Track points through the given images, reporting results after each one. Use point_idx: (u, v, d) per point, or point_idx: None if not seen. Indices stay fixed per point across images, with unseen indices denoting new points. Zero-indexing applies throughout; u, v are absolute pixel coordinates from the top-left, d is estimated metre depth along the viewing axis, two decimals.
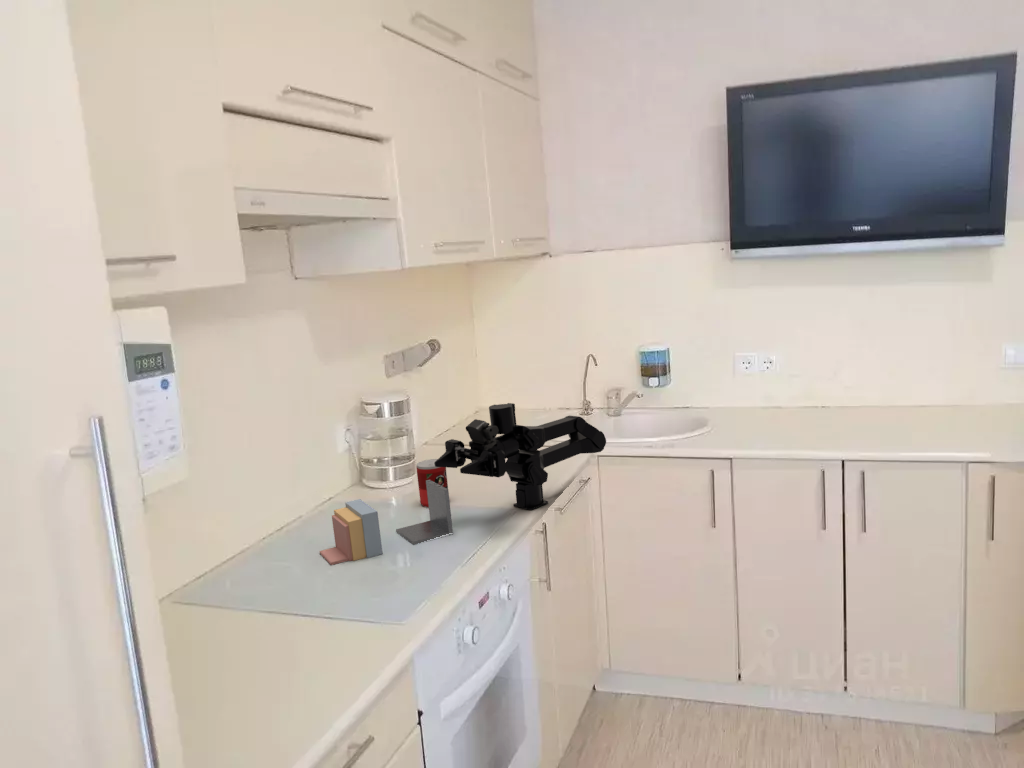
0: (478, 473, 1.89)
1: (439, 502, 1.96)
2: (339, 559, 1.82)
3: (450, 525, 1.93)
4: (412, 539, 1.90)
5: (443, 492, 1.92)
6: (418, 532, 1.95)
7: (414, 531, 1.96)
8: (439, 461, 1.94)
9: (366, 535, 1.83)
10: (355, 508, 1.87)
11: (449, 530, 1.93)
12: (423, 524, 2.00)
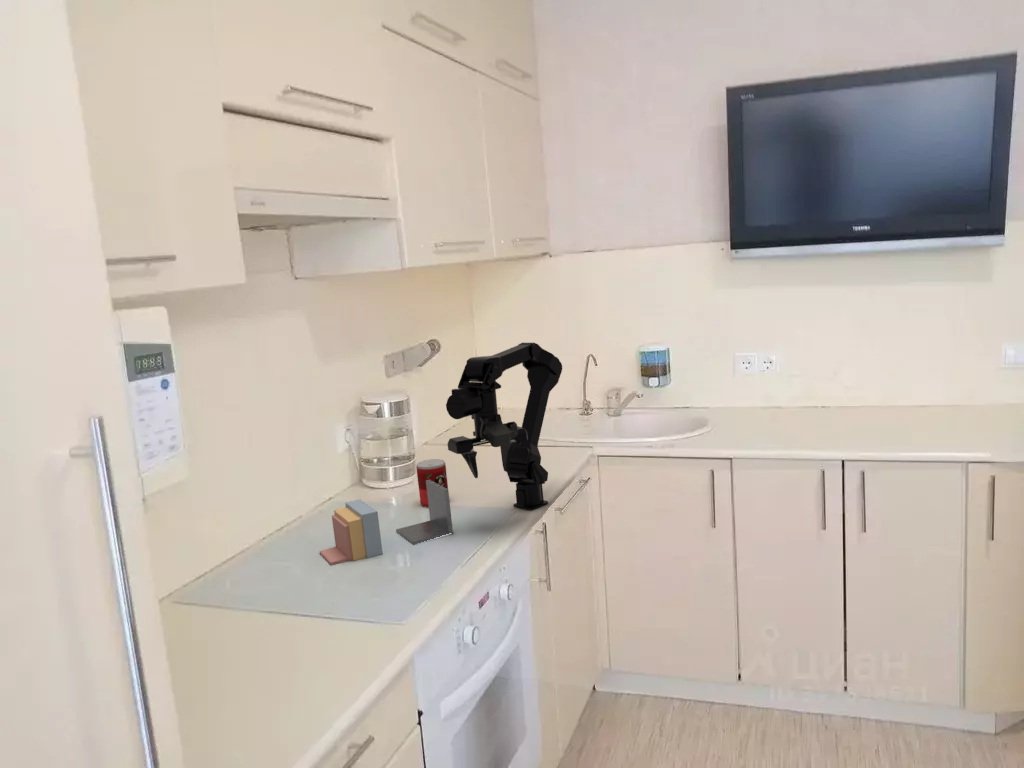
0: None
1: (439, 502, 1.96)
2: (339, 559, 1.82)
3: (450, 525, 1.93)
4: (412, 539, 1.90)
5: (443, 492, 1.92)
6: (418, 532, 1.95)
7: (414, 531, 1.96)
8: None
9: (366, 535, 1.83)
10: (355, 508, 1.87)
11: (449, 530, 1.93)
12: (423, 524, 2.00)
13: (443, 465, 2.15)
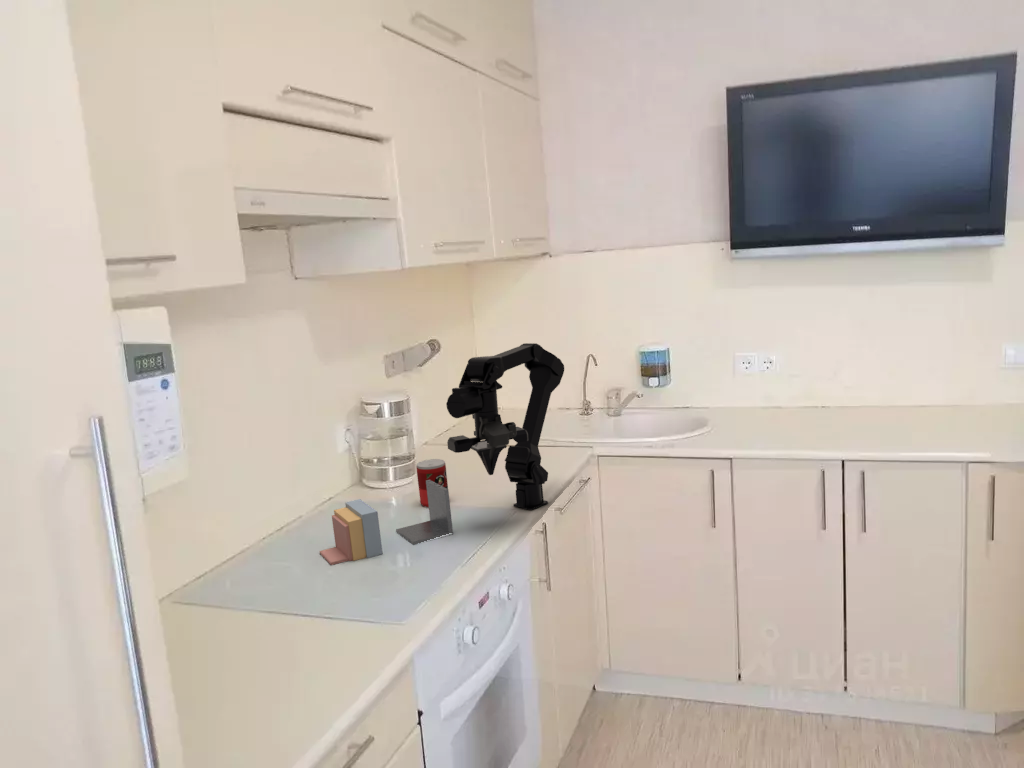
0: None
1: (439, 502, 1.96)
2: (339, 559, 1.82)
3: (450, 525, 1.93)
4: (412, 539, 1.90)
5: (443, 492, 1.92)
6: (418, 532, 1.95)
7: (414, 531, 1.96)
8: None
9: (366, 535, 1.83)
10: (355, 508, 1.87)
11: (449, 530, 1.93)
12: (423, 524, 2.00)
13: (443, 465, 2.15)
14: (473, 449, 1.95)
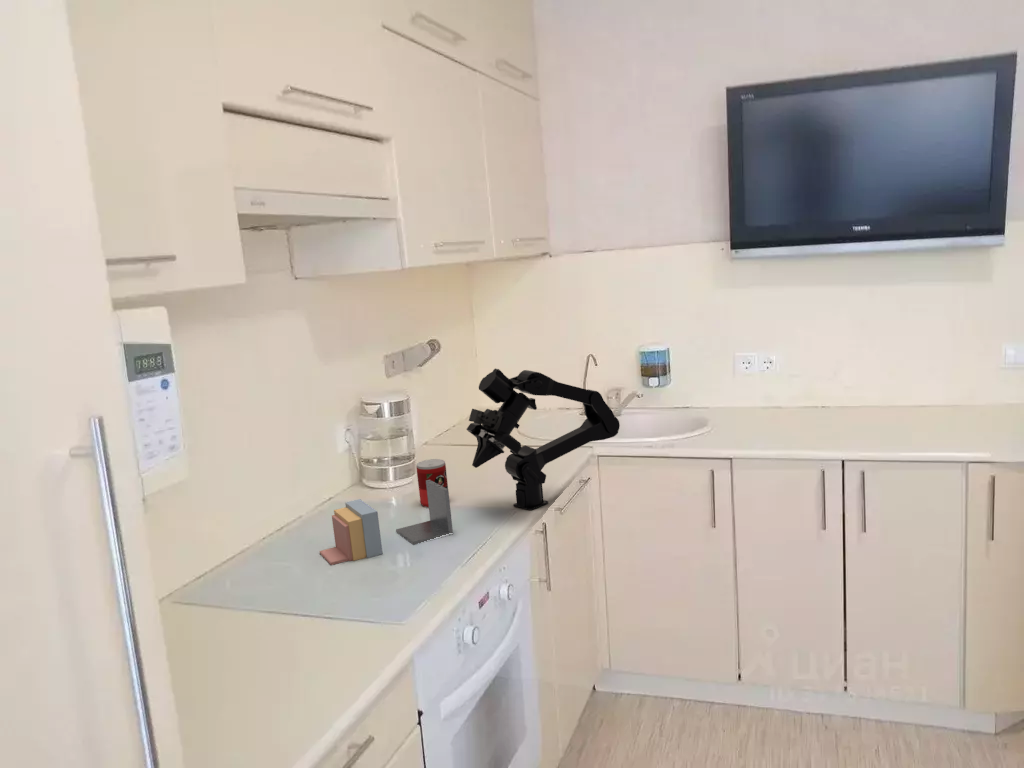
0: (490, 457, 2.01)
1: (439, 502, 1.96)
2: (339, 559, 1.82)
3: (450, 525, 1.93)
4: (412, 539, 1.90)
5: (443, 492, 1.92)
6: (418, 532, 1.95)
7: (414, 531, 1.96)
8: None
9: (366, 535, 1.83)
10: (355, 508, 1.87)
11: (449, 530, 1.93)
12: (423, 524, 2.00)
13: (443, 465, 2.15)
14: None
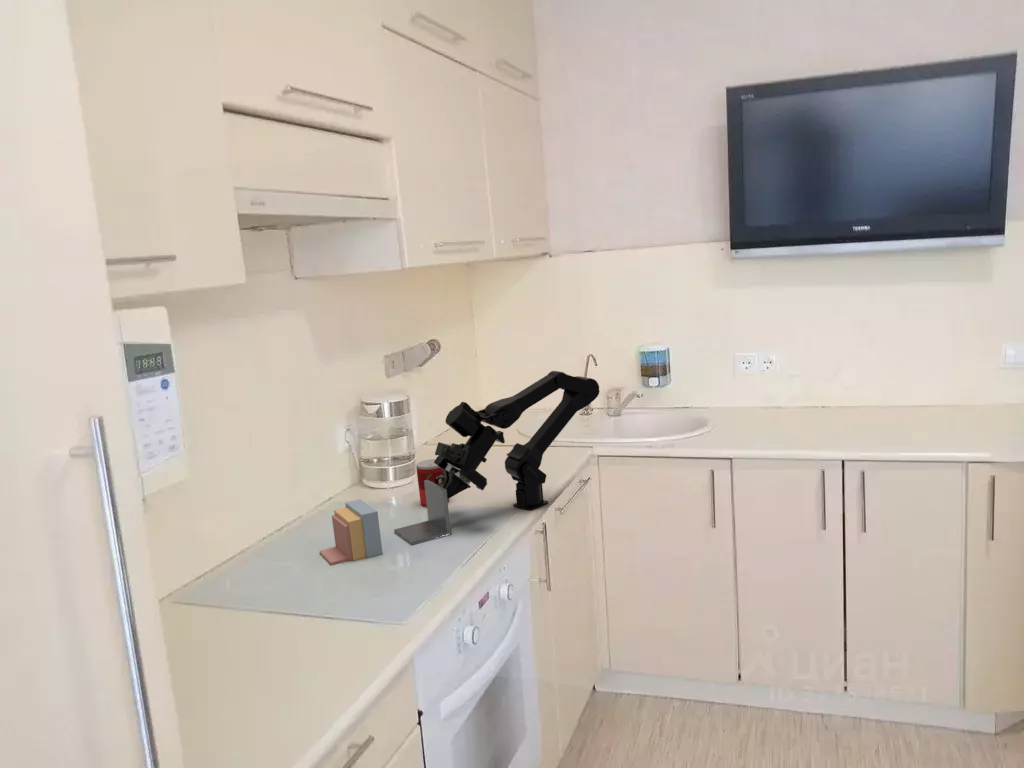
0: (456, 492, 1.97)
1: (437, 502, 1.95)
2: (339, 559, 1.82)
3: (448, 525, 1.93)
4: (410, 539, 1.90)
5: (441, 492, 1.92)
6: (416, 532, 1.95)
7: (412, 531, 1.96)
8: None
9: (366, 535, 1.83)
10: (355, 508, 1.87)
11: (447, 530, 1.93)
12: (421, 524, 2.00)
13: None
14: None
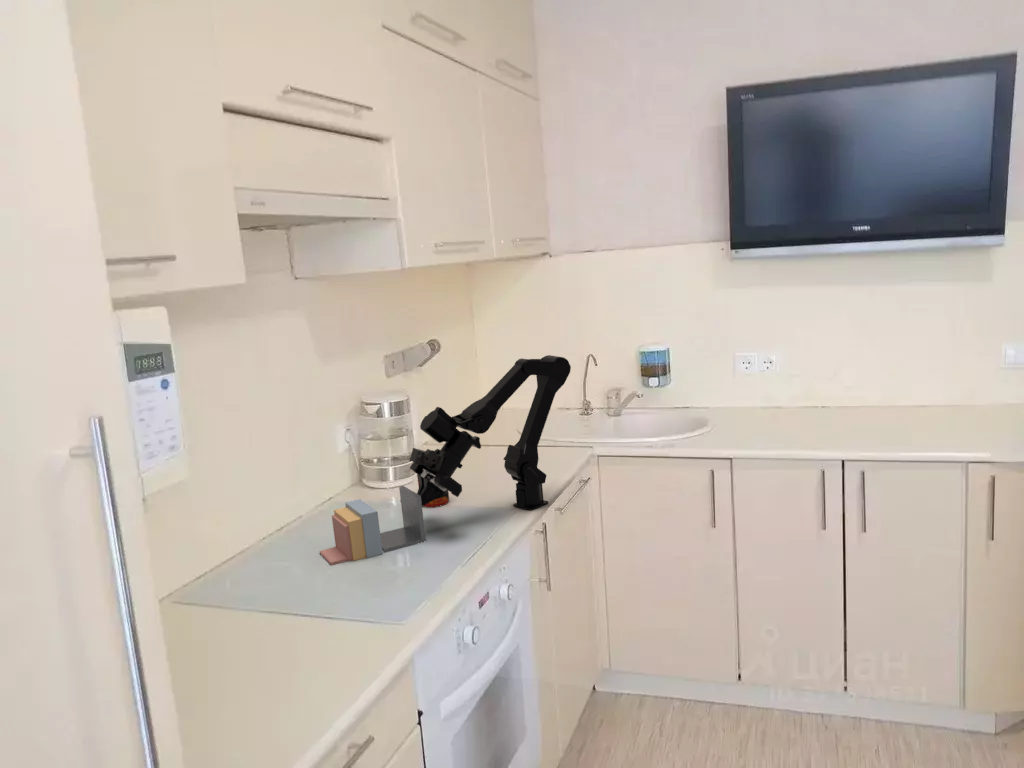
0: (432, 499, 1.94)
1: (411, 509, 1.92)
2: (339, 559, 1.82)
3: (423, 532, 1.90)
4: (384, 546, 1.87)
5: (415, 498, 1.89)
6: (390, 539, 1.92)
7: (386, 538, 1.93)
8: None
9: (366, 535, 1.83)
10: (355, 508, 1.87)
11: (422, 537, 1.90)
12: (396, 531, 1.97)
13: None
14: None
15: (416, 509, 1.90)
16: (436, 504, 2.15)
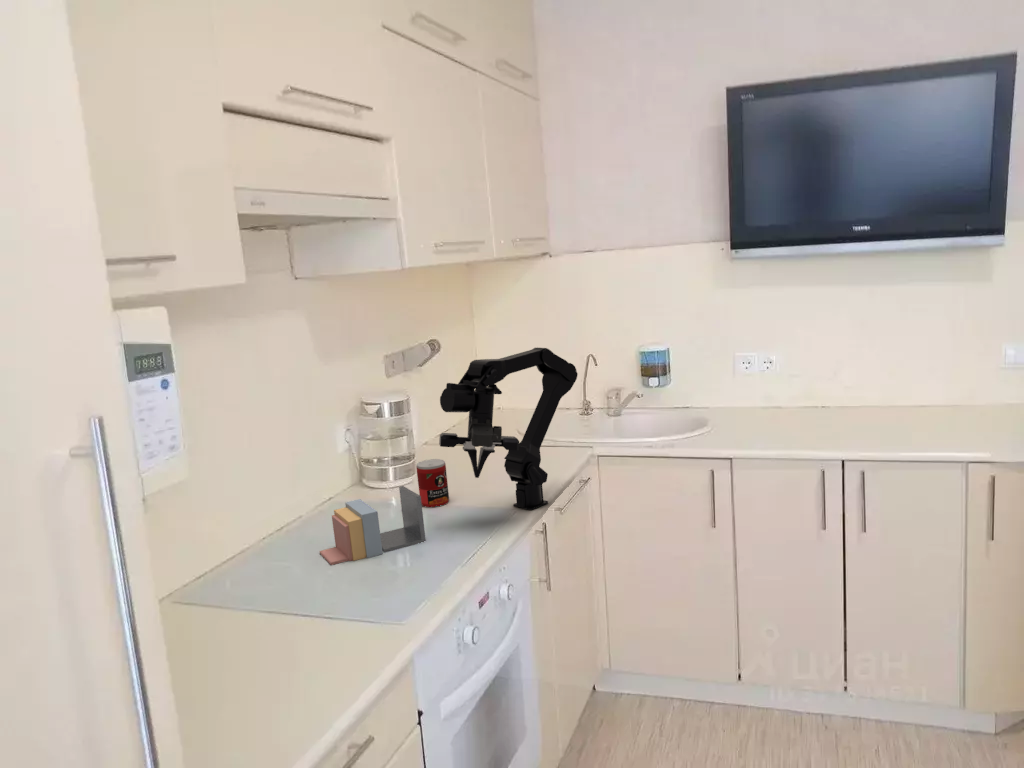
0: None
1: (411, 509, 1.92)
2: (339, 559, 1.82)
3: (423, 532, 1.90)
4: (384, 546, 1.87)
5: (415, 499, 1.89)
6: (390, 539, 1.92)
7: (386, 538, 1.93)
8: None
9: (366, 535, 1.83)
10: (355, 508, 1.87)
11: (422, 537, 1.90)
12: (396, 531, 1.97)
13: (443, 465, 2.15)
14: (463, 448, 1.98)
15: (416, 509, 1.90)
16: (436, 504, 2.15)
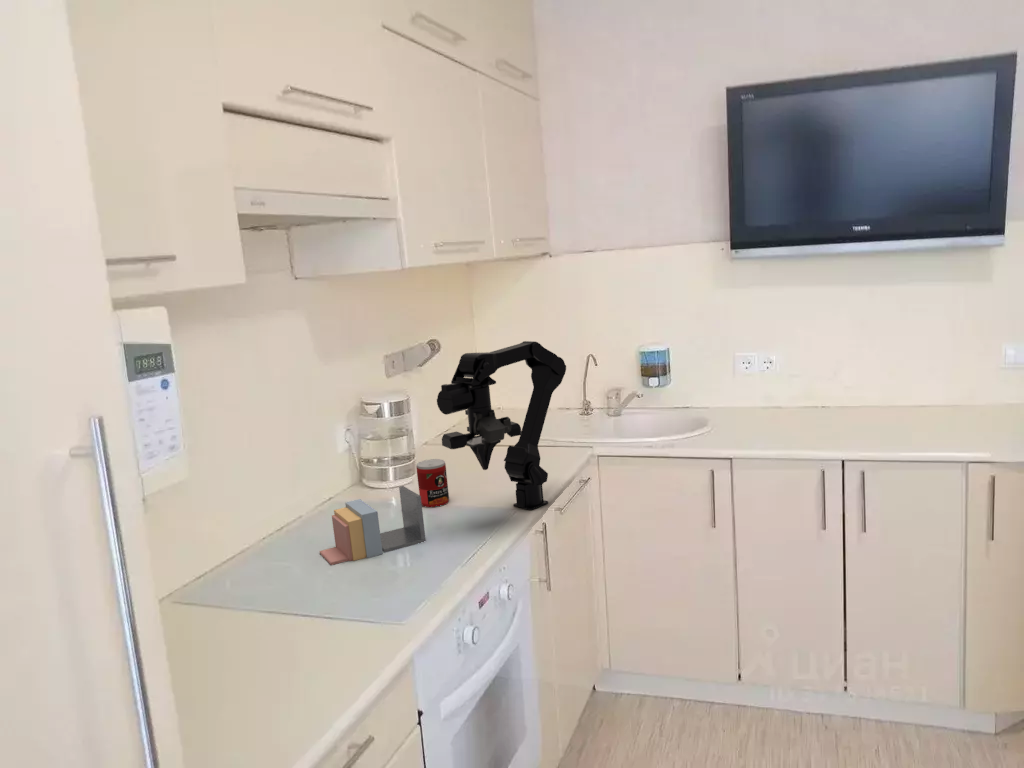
0: None
1: (411, 509, 1.92)
2: (339, 559, 1.82)
3: (423, 532, 1.90)
4: (384, 547, 1.87)
5: (415, 499, 1.89)
6: (390, 539, 1.92)
7: (386, 538, 1.93)
8: None
9: (366, 535, 1.83)
10: (355, 508, 1.87)
11: (422, 537, 1.90)
12: (396, 531, 1.97)
13: (443, 465, 2.15)
14: (467, 445, 1.96)
15: (416, 509, 1.90)
16: (436, 504, 2.15)
